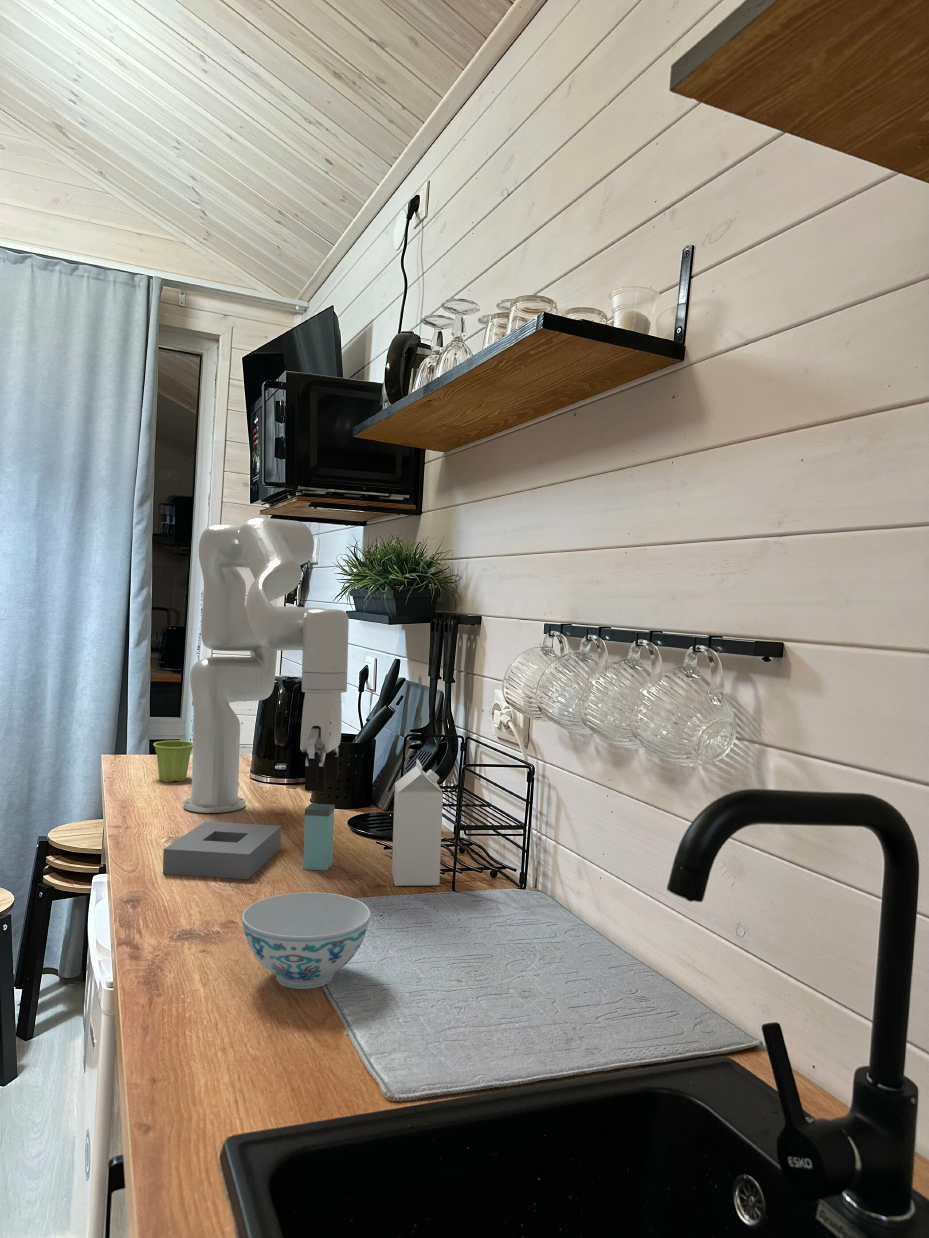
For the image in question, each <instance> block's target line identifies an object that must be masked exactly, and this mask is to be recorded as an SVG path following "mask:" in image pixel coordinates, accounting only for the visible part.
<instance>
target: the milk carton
mask: <svg viewBox="0 0 929 1238" xmlns="http://www.w3.org/2000/svg"><path fill="white" fill-rule="evenodd" d="M415 761H416V764H415V766H414V767H413V768H411V769H410V770H408V772H407V773H406V774H404V775H403V776H402V777H400V779H398V780H397V781H395V783H394V799H393V804H394V805H393V826H392V828H393V829H392V831H393V832H392V854H391V858H392V860H391V875H392V879H393V883H394V886H395V887H400V886H401V887H402V886H405V887H409V886H411V887H412V886H414V887H415V886H440V882H441V881H440V878H441V877H440V876H441V850H442V849H441V848H442V847H441V846H442V827H443V826H442V824H443V822H442V821H443V820H442V819H443V801H444V800H443V799H444V797H443V796H444V794H443V790H442V788H441V787H440V785H438V783H437V782H438V781H439V780H440V776H439V775H438V774H437V773H435V771H433V770H432V769H429V770H427V772H425V771H424V770H423V765H422V764H421V761H420V760H419V758H417V759H415Z"/></svg>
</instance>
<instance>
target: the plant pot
mask: <svg viewBox="0 0 929 1238" xmlns="http://www.w3.org/2000/svg"><path fill="white" fill-rule="evenodd" d="M153 747H154V749H155V753H156V759H157V769H158V770H157V771H158V779H159V780H160V781H161V782H165V783H167V782H168V783H172V782H176V781H177V782H183V781H185V780H186V779H187V776H188V775H187V774H188V771H189V770H188V769H189V765H190V764H189V763H190V757H191V753H193V741H190V740H189V741H188V740H161V741H156V742H153Z"/></svg>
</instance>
